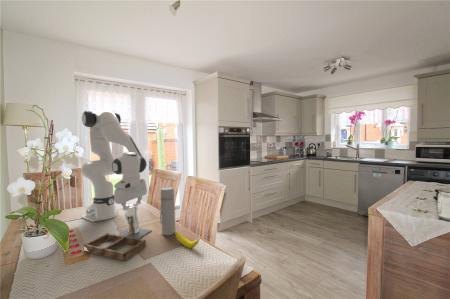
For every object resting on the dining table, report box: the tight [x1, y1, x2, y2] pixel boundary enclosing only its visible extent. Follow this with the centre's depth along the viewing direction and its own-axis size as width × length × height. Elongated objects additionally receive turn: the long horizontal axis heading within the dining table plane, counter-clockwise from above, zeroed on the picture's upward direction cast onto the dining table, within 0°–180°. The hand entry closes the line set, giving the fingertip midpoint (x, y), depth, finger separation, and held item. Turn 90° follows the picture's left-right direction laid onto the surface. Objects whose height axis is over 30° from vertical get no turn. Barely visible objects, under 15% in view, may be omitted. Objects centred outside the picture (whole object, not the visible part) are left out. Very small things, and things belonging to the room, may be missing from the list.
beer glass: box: [124, 203, 140, 235], centre depth 117 cm, size 7×7×15 cm
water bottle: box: [159, 186, 176, 237], centre depth 117 cm, size 9×8×25 cm
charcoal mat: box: [117, 227, 152, 239], centre depth 117 cm, size 14×12×1 cm
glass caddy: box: [83, 232, 147, 262], centre depth 102 cm, size 25×13×3 cm, turn 70°
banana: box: [174, 230, 200, 249], centre depth 102 cm, size 3×19×6 cm, turn 48°
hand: (132, 206), depth 116 cm, fingers open, 8 cm apart
